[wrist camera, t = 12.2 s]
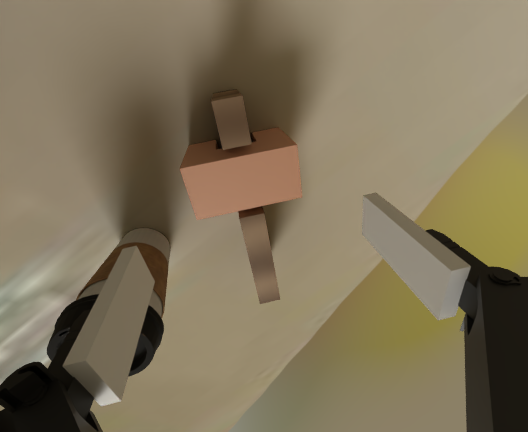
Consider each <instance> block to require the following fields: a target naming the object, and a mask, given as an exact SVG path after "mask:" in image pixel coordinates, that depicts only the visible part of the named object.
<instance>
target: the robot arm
mask: <svg viewBox="0 0 528 432" xmlns="http://www.w3.org/2000/svg"><path fill="white" fill-rule="evenodd" d="M362 235H363V236H364V237H365V238H366V239H367V240H368V241H369V243H370V244H371V245H372V246H373V247H374V248H375V249H376V251H377V252H378V253H379V254H380V255H381V256H382V257H383V258H384V260H385V261H386V262H387V263H388V264H389V265H390V266H391V267H392V269H393V270H394V271H395V272H396V273H397V274H398V275H399V277H400V278H401V279H402V280H403V281H404V282H405V283H406V284H407V285H408V287H409V288H410V289H411V290H412V291H413V292H414V294H415V295H416V296H417V297H418V298H419V299H420V300H421V301H422V302H423V304H424V305H425V306H426V307H427V308H428V309H429V310H430V312H431V313H432V314H433V315H434V316H435V317H436V318H437V320H441V319H445V318H449V317H453V316H455V315H456V312H457V309H458V306H459V307H460V308H461V309H462V310H463V311H464V312H466V314H465V317H464V320H463V323H462V326H461V329H460V331H464V333H465V336H464V337H465V375H466V376H465V379H466V416H467V417H466V418H467V420H466V421H467V432H528V277H520V276H519V275H518V274H516V273H514V272H512V271H510V270H508V269H504V268H500V267H488V266H487V265H485V264H484V263H483V262H481V261H480V260H478V259H477V258H476V257H474V256H473V255H471V254H470V253H469V252H468V251H466V250H465V249H463V248H462V247H460V246H459V245H458V244H456V243H455V242H453V241H452V240H451V239H450V238H448V237H447V236H445V235H444V234H442V233H440V232H437V231H435V230H433V229H430V230H426V231H425V230H423V229H422V228H421V227H419V226H418V225H417V224H416V223H414V222H413V221H412V220H411V219H409V218H408V217H407V216H405V215H404V214H403V213H402V212H400V211H399V210H398V209H396V208H395V207H394V206H393V205H391V204H390V203H389V202H387V201H386V200H385V199H384V198H382V197H381V196H380V195H378V194H377V193H372V194H367V195H363V219H362ZM154 283H155V281H154V279H153V277H152V275H151V273H150V271H149V269H148V267H147V265H146V263H145V261H144V259H143V257H142V255H141V253H140V251H139V249H138V247H137V246H133V247H128V248H124V249H122V251H121V253H120V255H119V257H118V259H117V261H116V263H115V265H114V267H113V269H112V271H111V272H110V274H109V276H108V278H107V280H106V282H105V284H104V286H103V288H102V290H101V292H100V294H99V296H98V298H97V300H96V302H95V304H94V306H93V307H92V309H90V310H86V311H83V312H82V314H81V315H80V316H79V317H78V318H77V319H76V320H75V321H74V323H73V324H72V326H71V328H70V330H69V331H68V334H67V335H66V337H65V339H64V340H63V343H62V344H61V346H60V348H59V349H58V351H57V353H56V355H55V357H54V358H53V360H52V362H51V364H50V365H49V367H48V369H47V368H46V367H45V366H44V365H43V364H42V363H41V362H32V363H29V364H26V365H24V366H22V367H21V368H19V369H17V370H16V371H15V372H13V373H12V374H11V375H10V376H8V377H7V378H6V379H5V381H4V382H3V383H2V384H1V385H0V405H1V406H3V407H4V408H5V409H3V410H2V411H0V432H103V431H102V429H101V427H100V425H99V423H98V421H97V419H96V417H95V415H94V414H93V413H92V412H91V411H90V408H91V405H92V402H93V400H94V399H95V400H96V401H97V402H98V404H99V405H100V406H104V405H108V404H112V403H116V402H120V401H121V400H122V396H123V393H124V389H125V386H126V382H127V379H128V375H129V372H130V368H131V365H132V361H133V358H134V354H135V351H136V347H137V343H138V340H139V336H140V333H141V329H142V326H143V322H144V319H145V315H146V312H147V308H148V305H149V301H150V298H151V294H152V291H153V287H154Z"/></svg>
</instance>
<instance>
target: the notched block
mask: <svg viewBox="0 0 528 432" xmlns="http://www.w3.org/2000/svg"><path fill="white" fill-rule="evenodd" d="M252 136H253V142H251V144H250V145H245V146H240V147H235V148H230V149H225V150H223V149H222V148H221V149H218V146H217V142H216V140H212V141H207V142H202V143H197V144H192V145H189V146H188V149H187V151H186V154H185V156H184V159H183V162H182V164H181V167H180V171H181V174H182V177H183V180H184V183H185V186H186V189H187V192H188V195H189V198H190V201H191V204H192V207H193V210H194V213H195V216H196V219H197V220H200V219H204V218H209V217H214V216H218V215H223V214H227V213H232V212H237V211H241V210H246V209H251V208H255V207H260V206H264V205H269V204H274V203H278V202H283V201H288V200H292V199H297V198H301V197H302V189H301V179H300V168H299V158H298V148H297V144H296V143H295V142H294V141H293V140H292V139H290V138H289V137H288V136H287V135H286V134H285V133H284V132H283V131H282V130H281V129H280V128H279V127H277V128H272V129H267V130H262V131H257V132H252Z"/></svg>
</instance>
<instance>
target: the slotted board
mask: <svg viewBox="0 0 528 432" xmlns="http://www.w3.org/2000/svg"><path fill="white" fill-rule="evenodd" d="M211 103H212V107H213V111H214V116H215V120H216V124H217V128H218V132H219V136H220V140H221V144H222V149H223V150H225V149H230V148H235V147H240V146H245V145H250V144H251V138H250V133H249V127H248V122H247V116H246V111H245V106H244V100H243V95H242V94H241V93H240V92H239V91H238V90H237V89H234V90H229V91H224V92H218V93H213V95H212V100H211ZM238 212H239V219H240V223H241V227H242V231H243V235H244V239H245V244H246V248H247V252H248V256H249V260H250V264H251V268H252V273H253V277H254V281H255V285H256V289H257V293H258V297H259V301H260V304H262V303H267V302H271V301H275V300H279V299H280V295H279V290H278V285H277V279H276V274H275V268H274V263H273V257H272V252H271V247H270V241H269V236H268V230H267V225H266V219H265V214H264V211H263V208H262V206H260V207H255V208H251V209H246V210H241V211H238Z"/></svg>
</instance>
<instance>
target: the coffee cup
mask: <svg viewBox="0 0 528 432" xmlns="http://www.w3.org/2000/svg"><path fill="white" fill-rule="evenodd" d="M133 246H137V247H138V249H139V251H140V253H141V255H142V257H143V259H144V261H145V263H146V265H147V267H148V269H149V271H150V273H151V275H152V277H153V279H154V281H155V283H154V287H153V291H152V294H151V298H150V301H149V305H148V308H147V312H146V315H145V319H144V322H143V326H142V329H141V333H140V336H139V340H138V343H137V347H136V351H135V354H134V358H133V361H132V365H131V368H130V372H129V375H128V376H132V375H134V374H137V373H139V372H140V371H142V370H144V369H145V368H146V367H147V366H148V365H149V364H150V362H151V361H152V359H153V357H154V354H155V352H156V350H157V348H158V347H159V345H160V343H161V339H162V335H163V332H164V325H163V321H162V319H161V318H162V317H163V314H164V307H165V297H166V287H167V276H168V264H169V257H170V244H169V242H168V240H167V239H166V237H165V236H164V235H163V234H161V233H160V232H158V231H156V230H153V229H149V228H138V229H134V230H132V231H130V232H128V233H127V234H126V235H125V236H124V237H123V238H122V240H121V241H120V242H119V244H118V245H117V247H116V248H115V249H114V250H113V252H112V253H111V254H110V255H109V256H108V258H107V259H106V260H105V262H104V263H103V264H102V265H101V267H100V268H99V269H98V270H97V272H96V273H95V274H94V275H93V277H92V278H91V279H90V280H89V282H88V283H87V284H86V285H85V287H84V288H83V289H82V290H81V292H80V293H79V295H78V297H77V299H76V301H74V302H72V303H71V304H70V305H68V306H67V307H66V308H65V309H64V310H63V312H62V313H61V315H60V316H59V318H58V319H57V322H56V324H55V330H54V332H53V334H52V337H51V339H50V341H49V344H48V347H47V355H48V356H49V358H50V360H51V361H52V360H53V358H54V357H55V355H56V353H57V351H58V349H59V348H60V346H61V344H62V343H63V340H64V339H65V337H66V335H67V334H68V331H69V330H70V328H71V326H72V324H73V323H74V321H75V320H76V319H77V318H78V317H79V316H80V315H81V314H82V312H83V311H86V310H90V309H92V307H93V306H94V304H95V302H96V300H97V298H98V296H99V294H100V292H101V290H102V288H103V286H104V284H105V282H106V280H107V278H108V276H109V274H110V272H111V271H112V269H113V267H114V265H115V263H116V261H117V259H118V257H119V255H120V253H121V251H122V249H124V248H128V247H133Z"/></svg>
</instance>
